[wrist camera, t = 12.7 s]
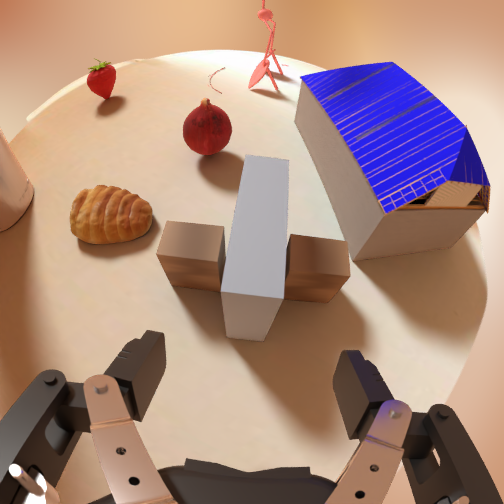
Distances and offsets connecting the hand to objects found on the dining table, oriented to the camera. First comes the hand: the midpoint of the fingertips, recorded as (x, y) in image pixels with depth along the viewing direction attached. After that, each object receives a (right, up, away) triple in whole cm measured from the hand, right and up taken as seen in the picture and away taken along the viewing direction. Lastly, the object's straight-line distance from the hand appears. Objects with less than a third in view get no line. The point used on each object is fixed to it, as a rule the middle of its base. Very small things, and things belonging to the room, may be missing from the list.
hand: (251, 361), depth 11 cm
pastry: (-15, +8, +16) cm, 24 cm away
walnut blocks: (0, +2, +13) cm, 13 cm away
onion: (-5, +17, +22) cm, 28 cm away
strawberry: (-29, +36, +31) cm, 56 cm away
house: (+16, +15, +22) cm, 31 cm away
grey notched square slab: (0, +2, +13) cm, 13 cm away
